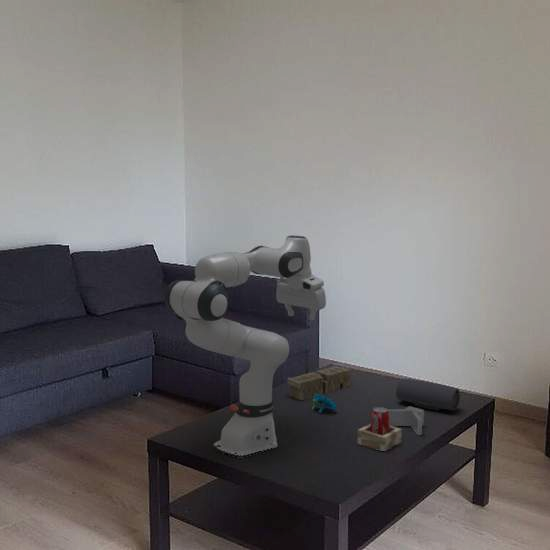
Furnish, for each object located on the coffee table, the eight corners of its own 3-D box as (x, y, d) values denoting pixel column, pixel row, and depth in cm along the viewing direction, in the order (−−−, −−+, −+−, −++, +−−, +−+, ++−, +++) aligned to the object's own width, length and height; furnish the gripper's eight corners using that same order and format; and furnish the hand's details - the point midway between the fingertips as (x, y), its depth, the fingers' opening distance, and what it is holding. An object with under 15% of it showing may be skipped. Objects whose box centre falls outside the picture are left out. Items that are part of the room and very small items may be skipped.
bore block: (384, 452, 239) (384, 437, 238) (357, 443, 246) (357, 429, 245) (401, 442, 247) (401, 428, 246) (375, 434, 253) (375, 421, 253)
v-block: (419, 437, 251) (420, 420, 250) (383, 426, 261) (384, 410, 260) (434, 429, 259) (434, 413, 258) (398, 418, 268) (399, 403, 267)
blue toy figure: (343, 408, 274) (328, 394, 270) (336, 421, 272) (320, 407, 267) (323, 404, 283) (308, 390, 278) (316, 417, 281) (301, 403, 276)
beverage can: (388, 447, 243) (389, 413, 241) (369, 446, 244) (370, 412, 242) (388, 440, 249) (389, 406, 247) (370, 439, 250) (371, 405, 248)
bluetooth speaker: (459, 409, 279) (461, 384, 277) (451, 416, 271) (452, 391, 269) (404, 398, 291) (405, 374, 289) (395, 405, 283) (395, 380, 282)
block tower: (337, 384, 311) (286, 397, 292) (337, 365, 310) (286, 376, 291) (350, 388, 306) (299, 402, 287) (351, 369, 304) (300, 381, 285)
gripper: (271, 278, 260) (273, 315, 263) (316, 286, 247) (318, 324, 250) (282, 274, 265) (284, 311, 268) (327, 281, 251) (329, 319, 255)
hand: (301, 317), depth 259 cm, fingers open, 8 cm apart
